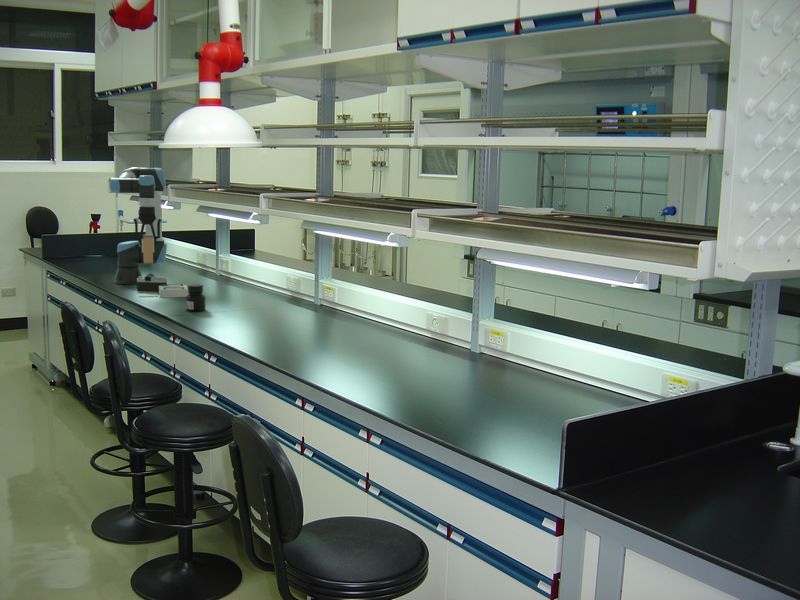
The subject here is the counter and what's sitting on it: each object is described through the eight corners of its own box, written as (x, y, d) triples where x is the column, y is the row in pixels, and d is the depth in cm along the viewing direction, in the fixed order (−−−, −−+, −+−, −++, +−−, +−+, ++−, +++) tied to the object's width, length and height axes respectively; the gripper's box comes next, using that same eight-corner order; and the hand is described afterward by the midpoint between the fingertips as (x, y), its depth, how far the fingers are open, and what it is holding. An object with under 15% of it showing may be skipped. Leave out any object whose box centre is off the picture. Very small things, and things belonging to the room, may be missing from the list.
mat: (139, 294, 418) (138, 293, 418) (157, 293, 421) (157, 293, 421) (139, 297, 410) (139, 296, 410) (157, 296, 413) (157, 296, 413)
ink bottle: (184, 308, 382) (184, 284, 380) (203, 308, 385) (203, 283, 383) (187, 312, 373) (187, 287, 371) (206, 311, 376) (206, 286, 374)
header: (158, 293, 424) (158, 284, 423) (186, 292, 428) (186, 283, 427) (159, 297, 411) (159, 288, 410) (188, 296, 415) (187, 287, 414)
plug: (143, 261, 414) (142, 234, 412) (152, 261, 416) (152, 234, 413) (143, 262, 410) (143, 235, 408) (153, 262, 411) (152, 235, 409)
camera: (170, 290, 432) (170, 272, 431) (165, 293, 424) (165, 274, 422) (141, 290, 433) (140, 271, 431) (135, 292, 424) (135, 273, 422)
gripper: (128, 206, 402) (130, 253, 406) (165, 206, 407) (166, 252, 411) (128, 205, 409) (129, 251, 413) (164, 206, 414) (165, 251, 418)
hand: (148, 251), depth 412 cm, fingers closed on plug, 4 cm apart
